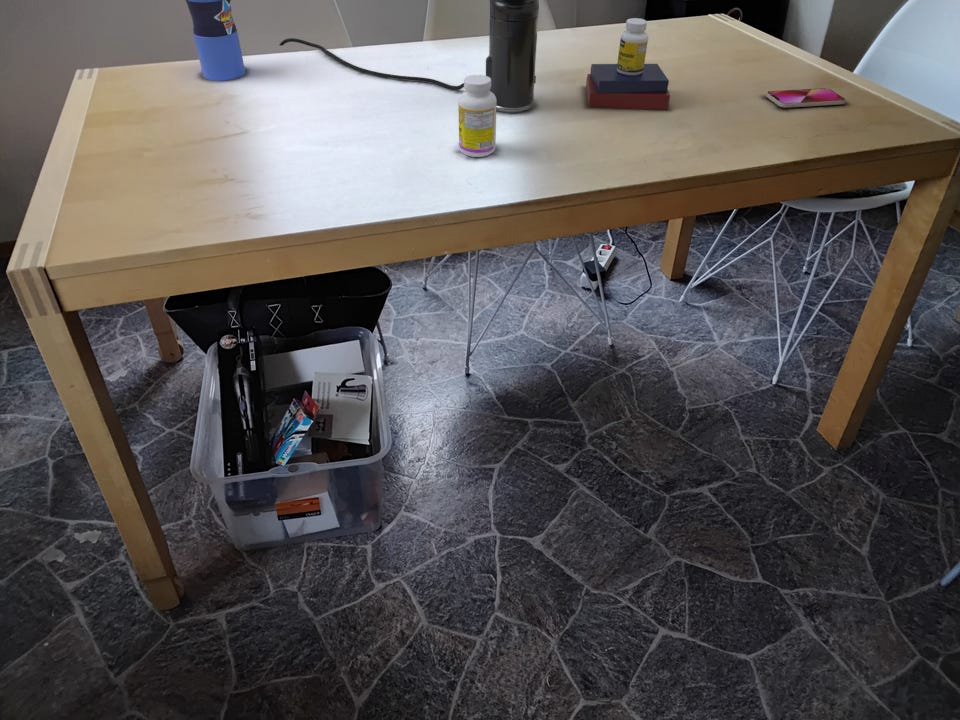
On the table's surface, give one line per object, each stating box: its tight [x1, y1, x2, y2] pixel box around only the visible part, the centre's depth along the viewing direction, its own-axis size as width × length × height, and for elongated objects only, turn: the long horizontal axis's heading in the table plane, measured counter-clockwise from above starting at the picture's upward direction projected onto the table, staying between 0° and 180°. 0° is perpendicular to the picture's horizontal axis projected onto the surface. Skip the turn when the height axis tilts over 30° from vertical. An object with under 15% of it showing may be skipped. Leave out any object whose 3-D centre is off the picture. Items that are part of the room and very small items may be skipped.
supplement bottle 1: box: [458, 74, 497, 158], centre depth 128 cm, size 7×7×13 cm
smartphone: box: [765, 87, 847, 109], centre depth 152 cm, size 7×1×15 cm
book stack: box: [585, 63, 671, 111], centre depth 150 cm, size 16×11×6 cm
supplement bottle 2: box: [616, 17, 649, 76], centre depth 145 cm, size 5×5×10 cm
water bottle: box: [185, 0, 246, 82], centre depth 152 cm, size 9×9×25 cm
